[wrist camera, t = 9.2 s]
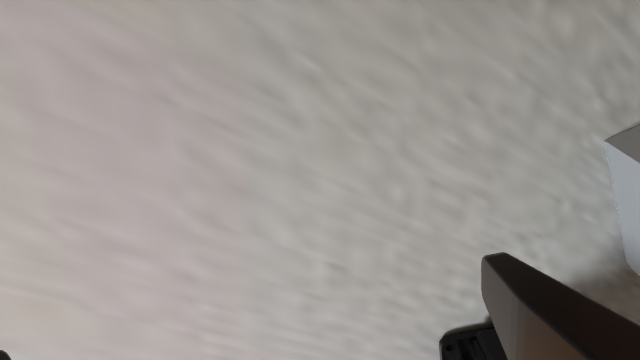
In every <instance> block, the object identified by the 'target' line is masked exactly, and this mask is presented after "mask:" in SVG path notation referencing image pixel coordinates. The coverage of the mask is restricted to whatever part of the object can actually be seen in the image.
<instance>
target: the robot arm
mask: <svg viewBox="0 0 640 360" xmlns="http://www.w3.org/2000/svg"><path fill="white" fill-rule="evenodd" d="M481 289H482V296H483V300H484V302H485V305H486V307H487V310H488V312H489V315H490V317H491V320H492V322H493V324H494V327H489V328H484V329H479V330H474V331H469V332H464V333H459V334H454V335H449V336H446V337H443V338H442V339H441V340H440V342H439V350H440V360H640V325H638V324H636V323H634V322H632V321H630V320H629V319H627V318H625V317H623V316H621V315H619V314H617V313H616V312H614V311H612V310H610V309H608V308H606V307H605V306H603V305H601V304H599V303H597V302H595V301H594V300H592V299H590V298H588V297H586V296H584V295H583V294H581V293H579V292H577V291H575V290H573V289H572V288H570V287H568V286H566V285H564V284H562V283H561V282H559V281H557V280H555V279H553V278H551V277H550V276H548V275H546V274H544V273H542V272H540V271H539V270H537V269H535V268H533V267H531V266H529V265H528V264H526V263H524V262H522V261H520V260H518V259H517V258H515V257H513V256H511V255H509V254H507V253H504V252H501V253H496V254H490V255H486V256H484V257H483V258H482V262H481ZM0 360H11V358H10V357H9V355H8V354H7V353H6V352H4V351H3V350H0Z"/></svg>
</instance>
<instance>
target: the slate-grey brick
mask: <svg viewBox="0 0 640 360" xmlns="http://www.w3.org/2000/svg"><path fill="white" fill-rule="evenodd" d="M604 143H605V148H606V154H607V159H608V165H609V170H610V176H611V181H612V187H613V192H614V198H615V203H616V209H617V214H618V220H619V225H620V231H621V236H622V242H623V247H624V253H625V258H626V264H627V265H628V266H629V267H630V268H631V269H632V270H633V271H634V272H636V273H637V274H638V275H639V276H640V125H638V126H636V127H634V128H631V129H629V130H627V131H624V132H622V133H620V134H618V135H615V136H613V137H611V138H608V139H606V140H604Z"/></svg>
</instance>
